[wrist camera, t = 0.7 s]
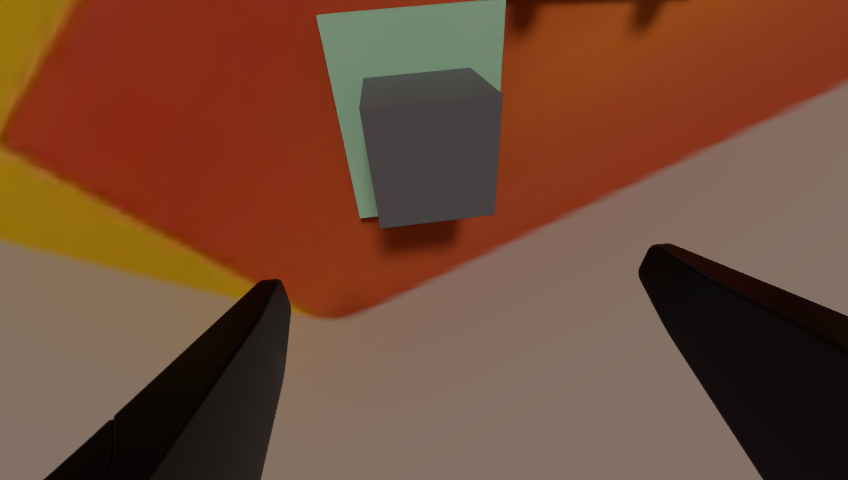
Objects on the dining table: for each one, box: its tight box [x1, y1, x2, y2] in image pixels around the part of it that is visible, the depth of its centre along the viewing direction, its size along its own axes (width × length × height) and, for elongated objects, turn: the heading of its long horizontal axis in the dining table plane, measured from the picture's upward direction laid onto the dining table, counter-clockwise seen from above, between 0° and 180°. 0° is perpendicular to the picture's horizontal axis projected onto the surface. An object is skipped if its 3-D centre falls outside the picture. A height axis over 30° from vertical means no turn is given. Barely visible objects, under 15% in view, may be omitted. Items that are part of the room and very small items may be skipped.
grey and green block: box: [316, 0, 506, 229], centre depth 16 cm, size 8×10×6 cm
